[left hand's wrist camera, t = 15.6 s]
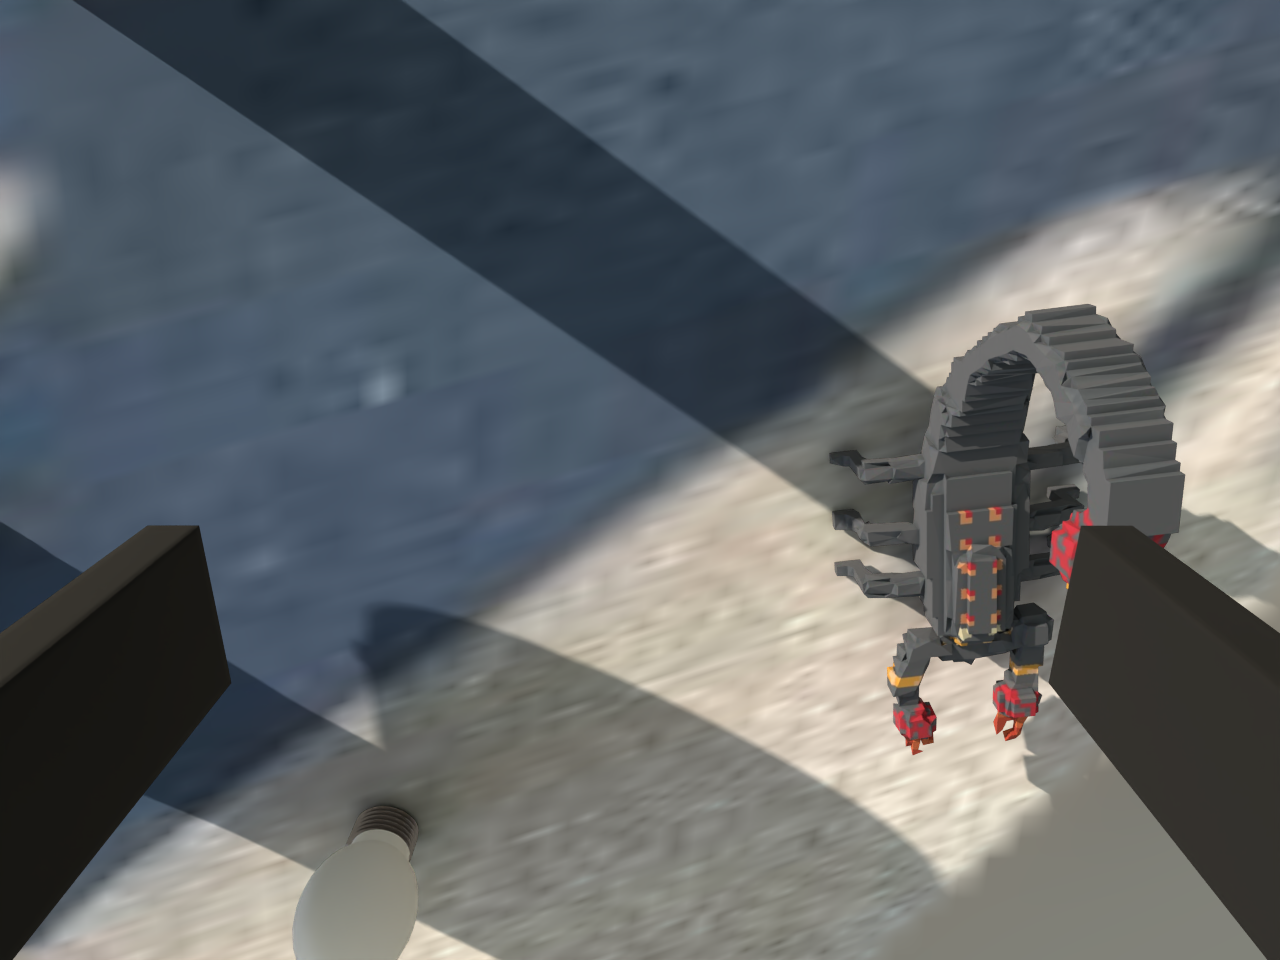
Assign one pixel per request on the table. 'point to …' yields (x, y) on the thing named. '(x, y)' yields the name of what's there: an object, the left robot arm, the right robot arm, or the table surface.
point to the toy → (1014, 498)
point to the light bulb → (362, 893)
